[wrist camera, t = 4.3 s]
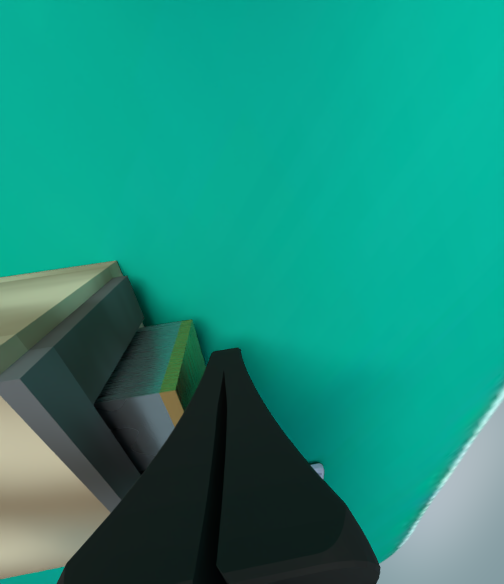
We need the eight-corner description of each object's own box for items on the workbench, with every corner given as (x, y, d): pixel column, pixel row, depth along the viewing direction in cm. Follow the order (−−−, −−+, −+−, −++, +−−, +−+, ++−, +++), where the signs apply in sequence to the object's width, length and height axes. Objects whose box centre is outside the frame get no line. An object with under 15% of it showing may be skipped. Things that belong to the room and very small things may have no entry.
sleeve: (185, 403, 15) (160, 546, 9) (19, 432, 14) (-121, 603, 8) (130, 258, 10) (3, 360, 4) (-119, 295, 10) (-627, 462, 4)
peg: (209, 379, 12) (203, 459, 9) (-45, 422, 12) (-163, 527, 8) (192, 319, 10) (175, 390, 7) (-110, 367, 10) (-298, 471, 6)
